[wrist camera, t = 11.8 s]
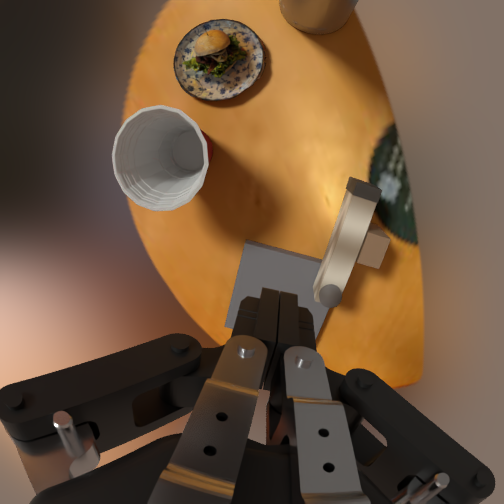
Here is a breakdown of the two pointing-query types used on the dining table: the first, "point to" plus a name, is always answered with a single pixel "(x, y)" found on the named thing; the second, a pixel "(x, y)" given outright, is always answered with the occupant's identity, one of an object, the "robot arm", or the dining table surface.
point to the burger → (219, 60)
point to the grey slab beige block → (294, 273)
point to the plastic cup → (161, 158)
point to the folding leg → (345, 241)
